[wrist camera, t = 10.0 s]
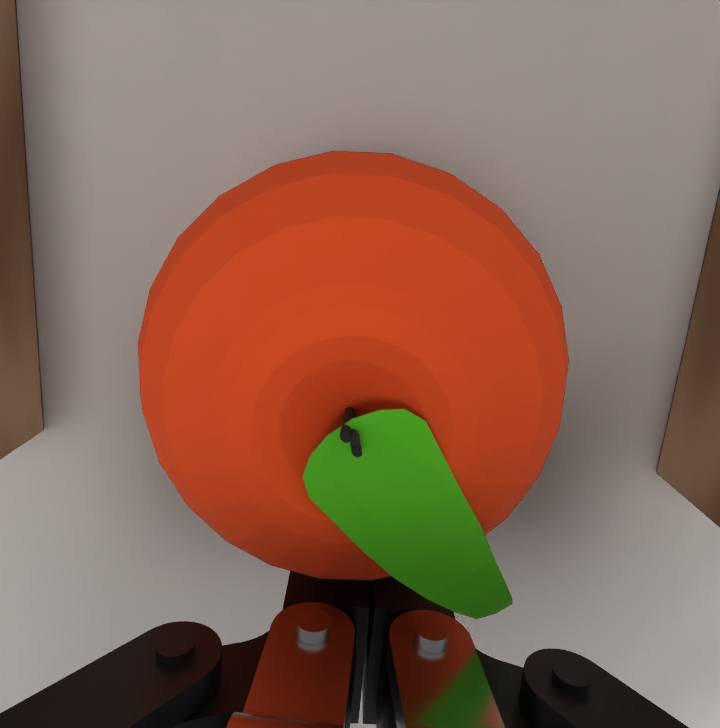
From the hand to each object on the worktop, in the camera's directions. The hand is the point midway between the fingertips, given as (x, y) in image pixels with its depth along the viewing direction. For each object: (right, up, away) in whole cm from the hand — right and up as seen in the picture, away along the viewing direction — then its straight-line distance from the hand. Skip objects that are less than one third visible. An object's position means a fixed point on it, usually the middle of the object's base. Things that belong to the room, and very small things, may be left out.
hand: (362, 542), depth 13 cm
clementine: (0, +4, +1) cm, 5 cm away
